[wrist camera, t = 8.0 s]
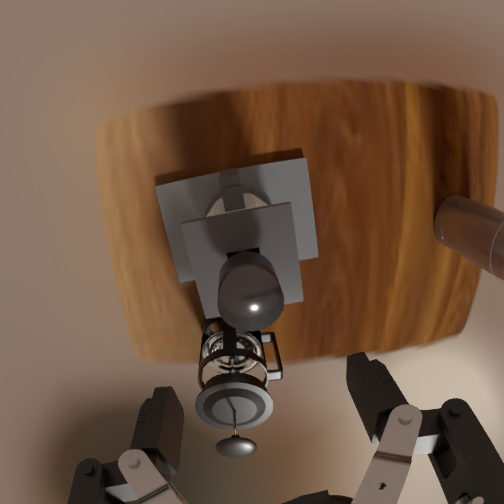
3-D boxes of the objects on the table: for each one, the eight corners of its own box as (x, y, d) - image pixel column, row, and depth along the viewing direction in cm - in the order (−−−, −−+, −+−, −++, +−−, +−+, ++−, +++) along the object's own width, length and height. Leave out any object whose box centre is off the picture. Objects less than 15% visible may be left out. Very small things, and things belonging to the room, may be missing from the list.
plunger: (257, 214, 33) (279, 267, 19) (264, 251, 34) (287, 324, 20) (218, 221, 33) (210, 280, 19) (226, 258, 34) (225, 336, 20)
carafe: (265, 159, 37) (287, 168, 23) (279, 248, 41) (304, 301, 28) (193, 173, 37) (171, 190, 23) (212, 261, 41) (205, 319, 27)
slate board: (304, 157, 39) (306, 157, 37) (316, 253, 43) (318, 256, 42) (157, 185, 38) (154, 186, 37) (181, 279, 43) (180, 282, 42)
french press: (202, 353, 48) (192, 471, 27) (194, 305, 45) (173, 426, 23) (272, 348, 49) (296, 464, 27) (271, 299, 45) (302, 418, 24)
